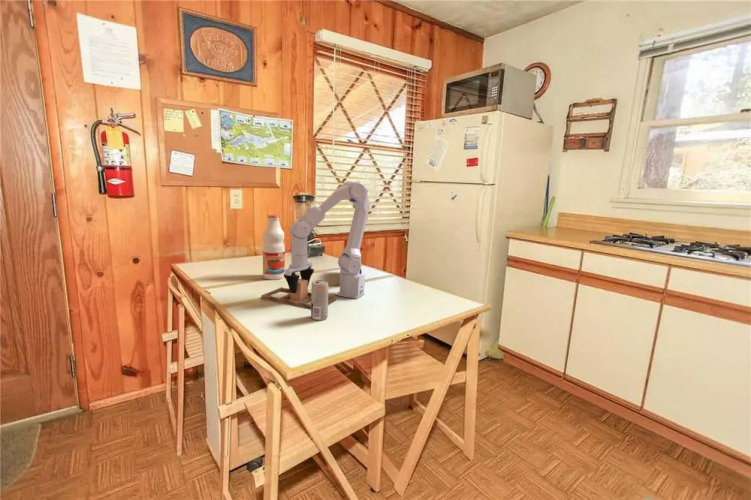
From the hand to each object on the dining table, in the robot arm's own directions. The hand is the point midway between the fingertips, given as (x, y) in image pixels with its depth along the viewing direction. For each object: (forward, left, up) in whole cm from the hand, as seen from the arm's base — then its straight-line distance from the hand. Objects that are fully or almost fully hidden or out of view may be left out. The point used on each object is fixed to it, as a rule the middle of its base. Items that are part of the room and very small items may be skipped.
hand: (299, 290), depth 135 cm
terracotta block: (0, 0, -3) cm, 3 cm away
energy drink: (-16, +12, -4) cm, 20 cm away
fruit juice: (+27, -20, -4) cm, 34 cm away
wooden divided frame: (0, 0, -4) cm, 4 cm away
